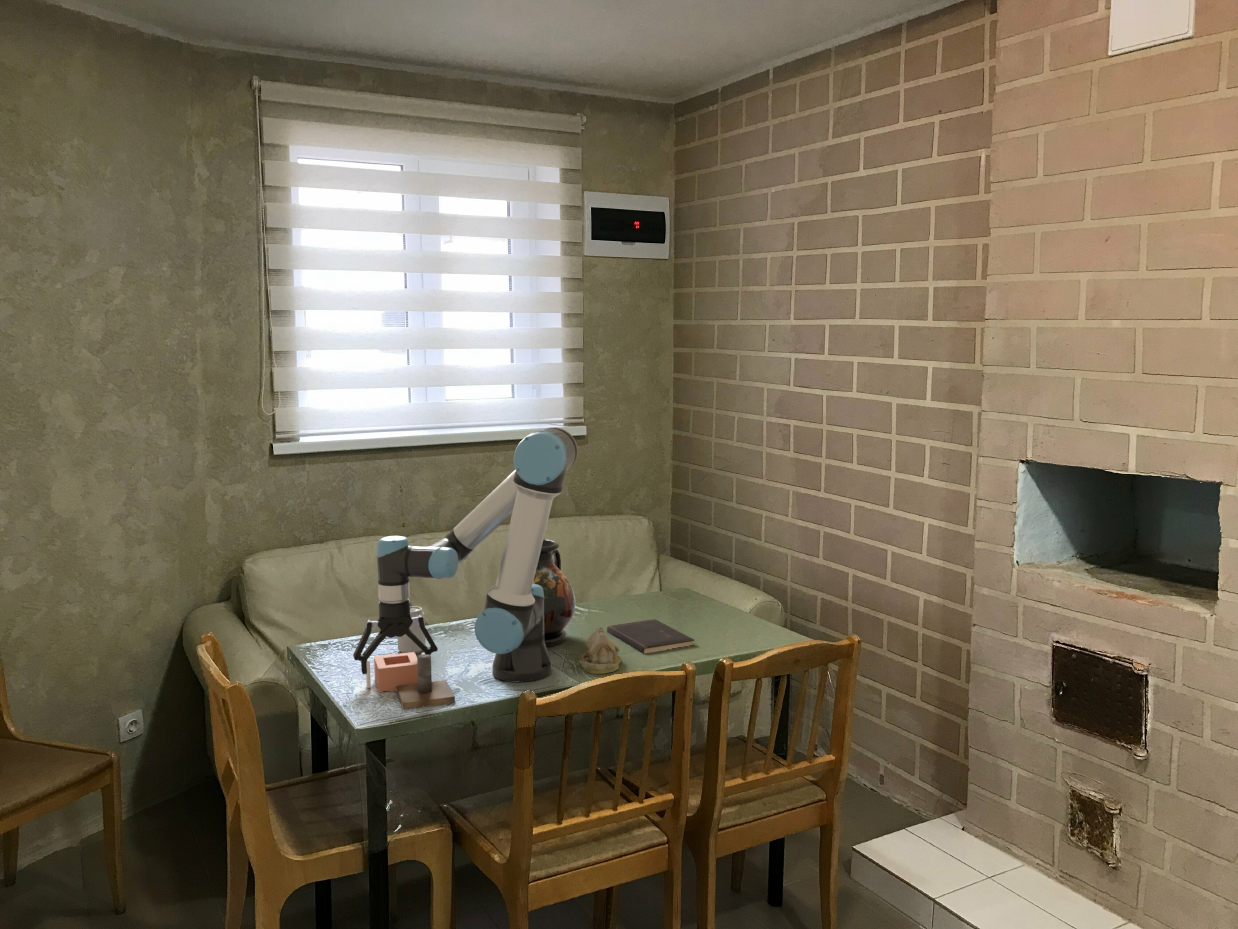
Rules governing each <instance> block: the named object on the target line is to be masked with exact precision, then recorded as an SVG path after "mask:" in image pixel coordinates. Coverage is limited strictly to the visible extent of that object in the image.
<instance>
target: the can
mask: <svg viewBox="0 0 1238 929" xmlns="http://www.w3.org/2000/svg"><path fill="white" fill-rule="evenodd" d="M418 615H422V617H423V619H424V626H425V627H426V617H425V616H426V615H425V612H424V611H423V608H422V606H416V605H415V606H414V605H413V606H412V605H410V616H411V618H413V617H417V616H418ZM409 629H410V630H411V631H412V632H413V633H414V634H415V635H416V636H417V637H418V638H419V639H420V640H421V641H422V642H423V643H424V644H425V645H426V637H425V636H424V634H423V632H422V630H421V629H420V627H419V626H417V625H416V624H415V623H414V622H413V623H412V625H411V626H410V628H409ZM426 646H427V645H426ZM397 650H398V651H399V652H400V654H401V653H410V652H415V654H421V653H423V651H422V650H421V649H420V648H419V647H418V646H417V645H416V644H415V643H414V642H413V641H412V640H411V639H410V638H409V637H408V636H407V635H406V634H405V635H403V636H402V637H397Z"/></svg>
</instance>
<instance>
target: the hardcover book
mask: <svg viewBox="0 0 1238 929" xmlns="http://www.w3.org/2000/svg"><path fill="white" fill-rule="evenodd" d="M606 633H608V634H609V635H611V636H613V637H614V638H616V639H618V640H619V639H620V640H619V641H621V642H623V643H624V642H625V644H626V645H628V646H629V645H630V647H631V648H633V649H634V650H635V651H638V652H640V653H641V654H643V655H645V654H650V653H656V652H657V653H658V652H661V651H668V650H667V649H669V650H673V649H672V648H676V649H678V648H677V647H682V648H684V647H683V646H687V645H688V647H690V646H689V645H693V643H694V641H695V639H694V638H692V637H690V636H688V635H687V634H684V633H683V632H680V631H678V630H677V629H675V628H672V627H671V626H669V625H667V624H665V623H664V622H661V621H659V620H657V619H655V618H654V619H647V620H639V621H633V622H626V623H619V624H612V625H608V626H607V628H606Z"/></svg>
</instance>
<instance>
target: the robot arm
mask: <svg viewBox="0 0 1238 929" xmlns="http://www.w3.org/2000/svg"><path fill="white" fill-rule="evenodd" d="M513 453H514V454H513V467H514V470H513V471H512V472H511V473H510V474H509V475H508V476H507V477H506V478H505V479H503V481H502V482H500V484H499V485H498V486H496V488H495V489H493V490H492V491H491V492H490V493H489V494H488V495H487V496H486V497H485V498H484V499H483V500H482V501H481V502H479V503H478V504H477V505H476V507H475V508H474V509H472V510H471V511H470V512H469V513H468V514H467V515H466V516H465V517H464V518H463V519H462V520H460V522H459V523H458V524H456V525H455V527H453V528H452V529H451V530H450V531H449V532H448V533H447V534H445V535H444V537H442V538H441V539H440V540H438V541H436V542H434V543H432V544H431V545H429V546H419V545H418V546H415V545H410V544H409V538H408V537H406V536H401V535H389V536H384V537H382V538H380V539H379V540H377V546H376V547H377V548H376V556H375V557H376V562H377V565H376V566H377V587H378V588H377V593H378V600H379V601H378V619H377V620H371V619H367V620H366V622H365V629H364V631H363V633H362V634H361V638H360V639H359V642H358V644H357V645H356V647H355V650H354V652H353V655H352V657H353V659H354V661H360V666H361V667H360V669H361V673H362V675H365V677H366V678H365V679H366V682H365V683H366V687H367V689H370V688H372V686H371V684H372V683H371V661H370V657H371V656H372V654H373V653H374V652H375V651H376V649H378V647H379V646H380V644H381V643H382V642H383V641H384V640H385V639H386V637H387V638H395V637H397V638H398V637H402V636H403V635H405V634H406V635H407V636H408V637H409V638H410V639H411V640H412V641H413V642H414V643H415V644H416V645H417V646H418V647H419V648H420V649H421V650H422V652H420V655H432V654H433V653H436V652H438V647H437V645H436V643H435V641H434V640H433V638H432V636H431V634H430V632H429V630H428V629H427V627H426V625H425V626H424V619H423V617H422V615H418V616H417V617H413V618H411V616H410V606H411V600H410V599H409V598H410V597H411V594H410V578H424V579H426V578H427V579H436V580H442V579H452V578H453V577H454V576H455V575H456V573H457V571H458V568H459V565H460V564H461V563H463V562H464V561H465V560H466V559H467V558H468V557H469V555H470V554H471V553H472V552H473V551H474V550H475V549H477V547H478V546H479V545H481V544H482V542H483V541H485V540H486V539H487V538H489V536H490V535H491V534H493V533H494V531H496V529H497V528H499V527H500V526H501V525H502V524H503V523H504V522H505V521H506V520H507V519H508V518H509V517H511V518H510V521H509V525H508V530H507V535H506V537H505V538H506V539H505V543H504V547H503V552H502V557H501V558H500V559H501V560H500V564H499V565H500V566H499V569H498V573H497V578H496V581H495V584H494V585H493V586H491V587H489V588H488V589H487V592H486V596H485V600H484V604H483V609H482V611H481V612H479V614H478V615H477V618H476V620H475V622H474V629H473V630H474V635H475V637H476V640H477V641H478V643H479V644H480V646H481V647H483V649H485V650H487V651H489V652H490V653H491V654H492V653H493V654H495V655H494V659H493V661H492V665H491V666H492V667H491V668H492V669H491V671H492V675H494V676H493V677H495V678H496V677H497V678H496V679H498V678H499V680H501V679H502V680H501V681H505V680H507V681H506V682H512V681H519V682H520V683H521V681H524V682H523V683H525V682H533V681H537V680H541V679H543V678H547V677H548V676H550V675H551V674H552V672H553V670H552V668H553V666H552V660H551V657H550V655H549V651H548V648H547V647H546V645H545V642H544V593H543V588H542V587H541V586H540V585H537V584H533V581H534V576H535V572H536V568H537V564H538V560H539V556H540V551H541V547H542V543H543V540H545V534H546V532H547V531H546V530H547V526H548V521H549V518H550V517H549V516H550V514H551V509H552V505H553V502H554V499H555V498H556V497H558V496H559V495H561V494H562V492H563V487H564V483H565V479H566V475H567V472H569V471H570V470H571V469H572V468H573V467H574V466H575V464H576V462H577V460H578V456H579V447H578V443H577V442H576V439H575V437H573V435H572V434H571V433H570V432H568V431H567V430H565V429H564V428H560V427H548V428H544V429H542V430H537V431H533V432H531V433H529V434H527V435H526V436H525V437H523V439H522V440H521V441H520V442H519V443H518V445H517V446H516V448H515V450H514V452H513ZM413 622H414V623H415V624H416V625H417V626H419V627H420V629H421V630H422V632H423V634H424V636H425V640H426V641H427V642H428V644H429V645H430V646H429V647H428V646H427V645H425V644H424V643H423V642H422V641H421V640H420V639H419V638H418V637H417V636H416V635H415V634H414V633H413V632H412V631H411V630H410V629H409V628H410V626H411V625H412V623H413ZM376 627H378V629H379V632H378V633H377V635H376V636H375V637H374V638H373V640H372V641H371V642H370V644H369V645H368V646H367V648H366V649H365V647H366V645H367V642H368V640H369V638H370V636H371V635H372V634H371V633H372V631H374V630H375V628H376ZM364 649H365V651H364ZM519 682H518V683H519Z"/></svg>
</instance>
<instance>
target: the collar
mask: <svg viewBox="0 0 1238 929" xmlns="http://www.w3.org/2000/svg"><path fill="white" fill-rule="evenodd" d="M417 656H418V655H416V654H415V652H410V653H401V652H400V653H392V654H384V655H375V656H373V665H374V666H373V667H374V682H375V681H376V682H375V684H377V685H376V687H378V688H377V691H378V690H379V691H378V693H379V692H382V693H384V692H383V691H390V692H394V691H393V690H397V689H396V686H401V685H409V684H418V666H417Z"/></svg>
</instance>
